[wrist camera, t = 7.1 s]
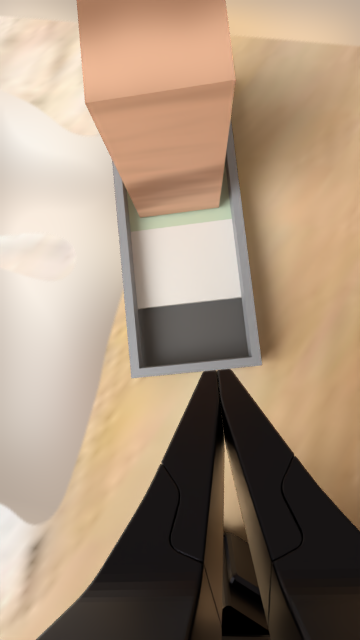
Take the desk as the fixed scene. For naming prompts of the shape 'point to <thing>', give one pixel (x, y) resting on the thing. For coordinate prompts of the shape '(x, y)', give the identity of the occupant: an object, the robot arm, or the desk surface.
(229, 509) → the desk surface
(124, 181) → the terracotta block
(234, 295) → the trap box
